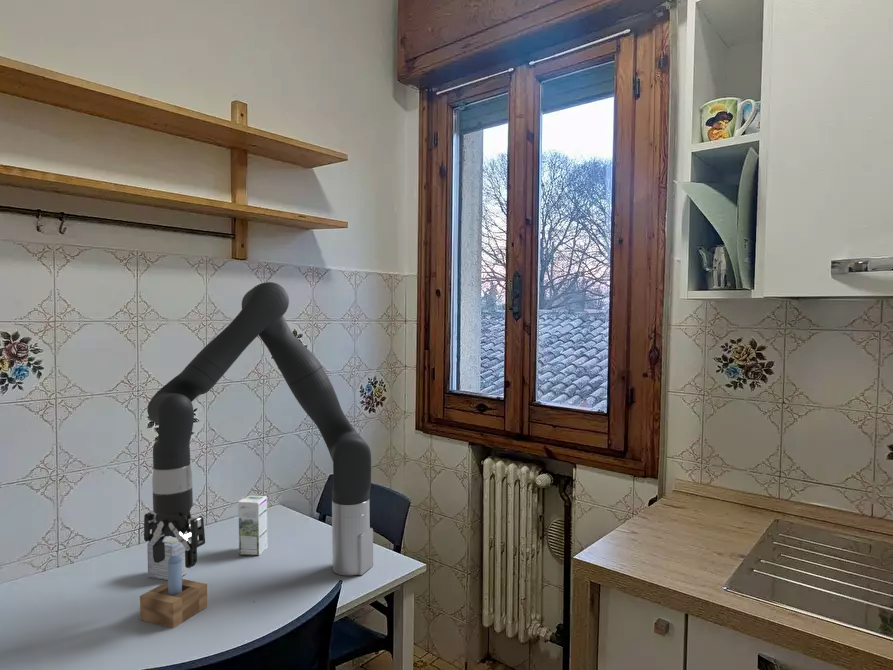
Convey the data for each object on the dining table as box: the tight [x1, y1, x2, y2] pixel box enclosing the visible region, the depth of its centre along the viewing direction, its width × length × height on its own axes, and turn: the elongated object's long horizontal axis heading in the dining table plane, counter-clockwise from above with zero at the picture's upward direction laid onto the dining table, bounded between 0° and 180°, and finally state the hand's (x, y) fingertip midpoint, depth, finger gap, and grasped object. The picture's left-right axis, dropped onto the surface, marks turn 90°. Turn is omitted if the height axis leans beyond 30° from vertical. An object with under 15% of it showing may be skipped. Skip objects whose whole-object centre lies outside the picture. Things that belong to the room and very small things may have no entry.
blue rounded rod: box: [167, 555, 183, 596], centre depth 118 cm, size 3×3×12 cm
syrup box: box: [237, 495, 269, 556], centre depth 150 cm, size 6×6×14 cm
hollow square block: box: [139, 578, 208, 629], centre depth 118 cm, size 9×9×5 cm
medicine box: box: [146, 536, 188, 581], centre depth 136 cm, size 8×4×9 cm, turn 71°
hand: (174, 563), depth 118 cm, fingers open, 8 cm apart
